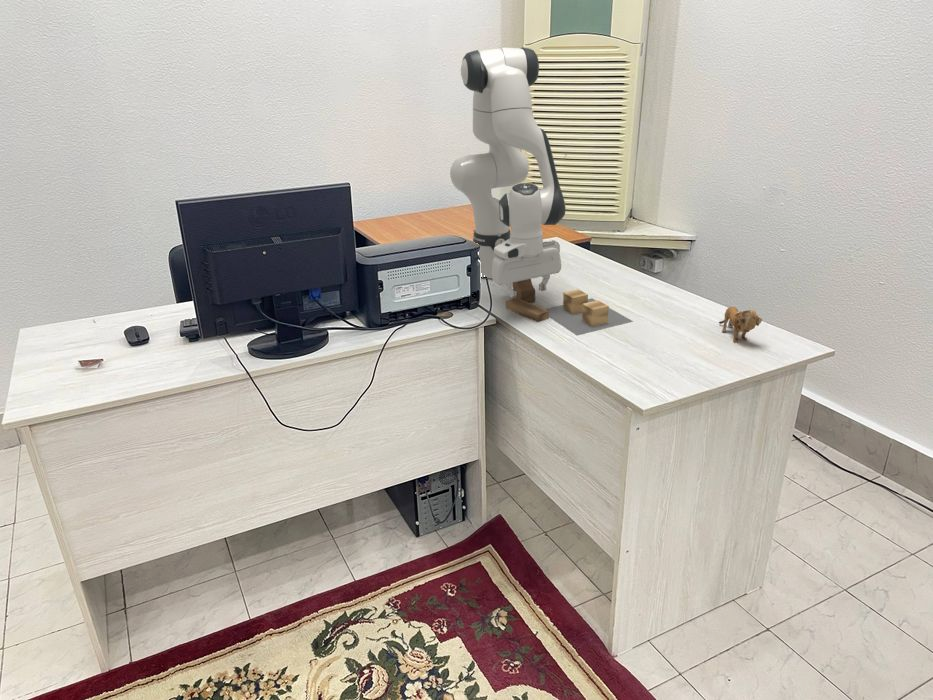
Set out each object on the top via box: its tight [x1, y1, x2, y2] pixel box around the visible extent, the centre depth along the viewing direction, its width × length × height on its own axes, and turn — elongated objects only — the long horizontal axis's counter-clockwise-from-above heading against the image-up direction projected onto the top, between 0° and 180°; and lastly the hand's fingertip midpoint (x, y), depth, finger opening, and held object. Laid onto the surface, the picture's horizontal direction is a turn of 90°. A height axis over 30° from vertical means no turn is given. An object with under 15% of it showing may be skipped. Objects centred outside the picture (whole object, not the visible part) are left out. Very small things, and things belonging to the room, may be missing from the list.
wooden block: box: [512, 279, 536, 304], centre depth 201 cm, size 9×4×18 cm, turn 12°
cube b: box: [582, 299, 610, 327], centre depth 185 cm, size 5×5×5 cm
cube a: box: [562, 288, 589, 315], centre depth 193 cm, size 5×5×5 cm
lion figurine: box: [718, 306, 763, 344], centre depth 173 cm, size 15×5×9 cm, turn 14°
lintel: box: [505, 297, 550, 323], centre depth 193 cm, size 4×14×3 cm, turn 36°
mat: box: [544, 297, 634, 336], centre depth 190 cm, size 20×18×1 cm
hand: (527, 293), depth 190 cm, fingers open, 8 cm apart
